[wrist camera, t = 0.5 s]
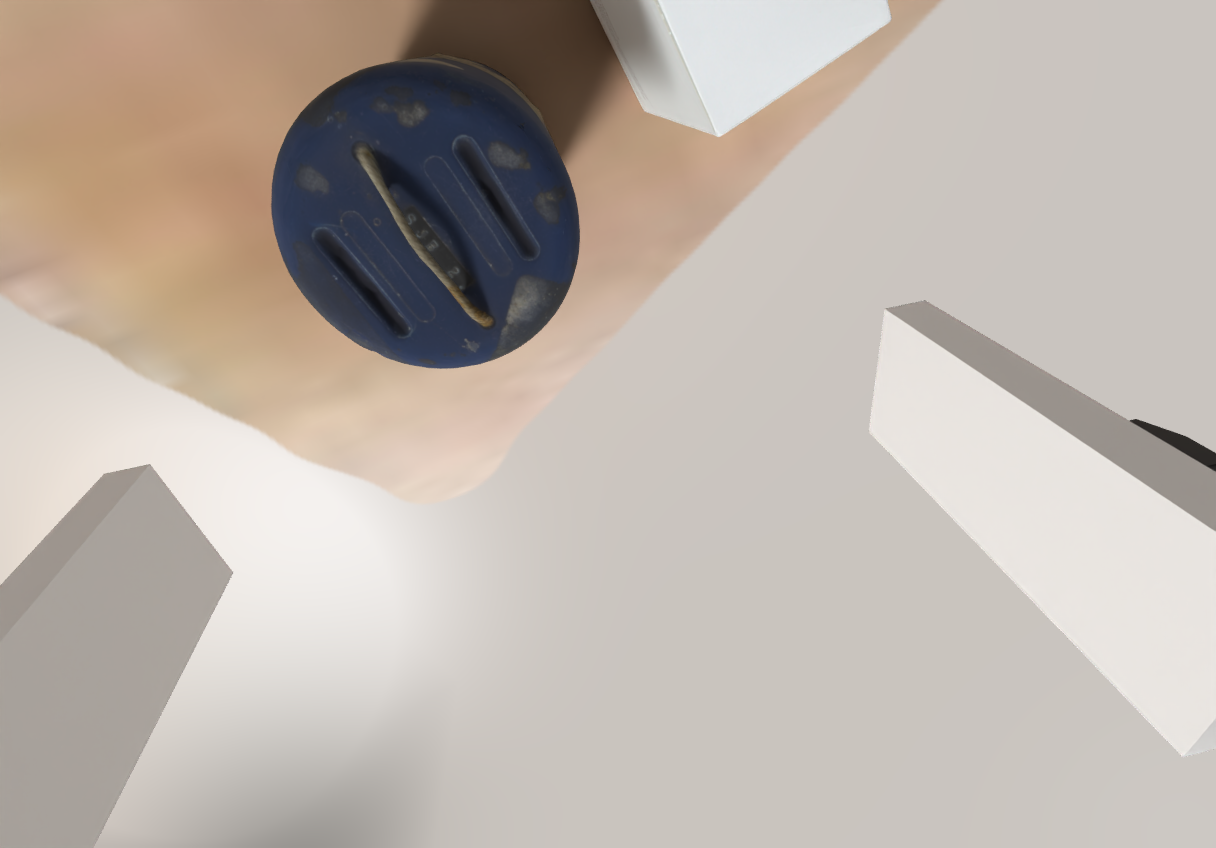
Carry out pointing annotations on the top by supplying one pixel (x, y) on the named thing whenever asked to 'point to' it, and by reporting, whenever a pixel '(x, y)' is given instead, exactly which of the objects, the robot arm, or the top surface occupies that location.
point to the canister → (427, 212)
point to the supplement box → (729, 51)
